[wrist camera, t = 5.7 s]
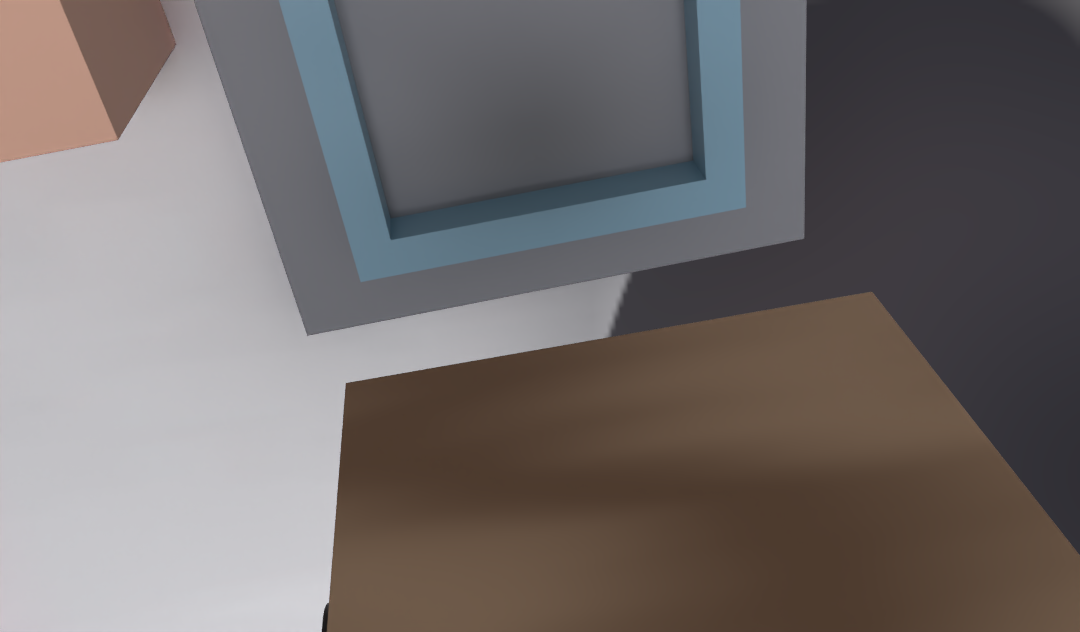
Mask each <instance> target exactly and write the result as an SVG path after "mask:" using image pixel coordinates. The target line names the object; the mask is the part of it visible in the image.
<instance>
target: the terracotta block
mask: <svg viewBox="0 0 1080 632" xmlns="http://www.w3.org/2000/svg"><path fill="white" fill-rule="evenodd" d="M175 45H176V43H175V40H174V38H173V35H172V32H171V29H170V26H169V24H168V21H167V18H166V15H165V13H164V10H163V7H162V4H161V2H160V0H0V162H5V161H10V160H15V159H21V158H26V157H31V156H36V155H42V154H47V153H52V152H57V151H63V150H68V149H73V148H78V147H83V146H89V145H94V144H99V143H104V142H110V141H115V140H118V139H119V138H120V136H121V134H122V133H123V131H124V129H125V128H126V126H127V124H128V123H129V121H130V119H131V118H132V116H133V115H134V113H135V111H136V110H137V108H138V106H139V105H140V103H141V101H142V100H143V98H144V96H145V95H146V93H147V91H148V90H149V88H150V87H151V85H152V83H153V82H154V80H155V78H156V77H157V75H158V73H159V72H160V70H161V68H162V67H163V65H164V64H165V62H166V60H167V59H168V57H169V55H170V54H171V52H172V50H173V49H174V47H175Z"/></svg>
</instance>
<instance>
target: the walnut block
mask: <svg viewBox="0 0 1080 632" xmlns="http://www.w3.org/2000/svg"><path fill="white" fill-rule="evenodd" d="M327 632H1080V555H1079V554H1078V553H1077V551H1076V550H1075V549H1074V548H1073V546H1072V545H1071V544H1070V543H1069V541H1068V540H1067V539H1066V537H1065V536H1064V535H1063V534H1062V532H1061V531H1060V530H1059V529H1058V527H1057V526H1056V525H1055V524H1054V522H1053V521H1052V520H1051V519H1050V517H1049V516H1048V515H1047V513H1046V512H1045V511H1044V510H1043V508H1042V507H1041V506H1040V504H1039V503H1038V502H1037V501H1036V499H1035V498H1034V497H1033V496H1032V494H1031V493H1030V492H1029V491H1028V489H1027V488H1026V487H1025V486H1024V484H1023V483H1022V482H1021V481H1020V480H1019V478H1018V477H1017V475H1016V474H1015V473H1014V472H1013V470H1012V469H1011V468H1010V466H1009V465H1008V464H1007V463H1006V461H1005V460H1004V459H1003V458H1002V456H1001V455H1000V454H999V453H998V451H997V450H996V449H995V448H994V446H993V445H992V444H991V442H990V441H989V440H988V439H987V437H986V436H985V435H984V434H983V432H982V431H981V430H980V428H979V427H978V426H977V425H976V423H975V422H974V421H973V419H972V418H971V417H970V416H969V414H968V413H967V412H966V411H965V410H964V408H963V407H962V406H961V404H960V403H959V402H958V400H957V399H956V398H955V397H954V395H953V394H952V393H951V392H950V390H949V389H948V388H947V386H946V385H945V384H944V383H943V381H942V380H941V379H940V378H939V376H938V375H937V374H936V373H935V371H934V370H933V369H932V367H931V366H930V365H929V364H928V362H927V361H926V360H925V359H924V358H923V356H922V355H921V354H920V352H919V351H918V350H917V349H916V347H915V346H914V345H913V343H912V342H911V341H910V340H909V338H908V337H907V336H906V335H905V333H904V332H903V331H902V329H901V328H900V327H899V326H898V324H897V323H896V322H895V320H894V319H893V318H892V317H891V315H889V313H888V312H887V310H886V309H885V308H884V307H883V305H882V304H881V303H880V301H879V300H878V299H877V298H876V296H875V295H874V294H873V293H872V292H868V293H862V294H856V295H850V296H845V297H839V298H833V299H827V300H822V301H816V302H811V303H804V304H799V305H793V306H788V307H781V308H776V309H770V310H764V311H759V312H753V313H747V314H741V315H735V316H730V317H724V318H719V319H712V320H707V321H701V322H695V323H690V324H684V325H678V326H672V327H666V328H661V329H655V330H649V331H643V332H638V333H632V334H626V335H620V336H615V337H609V338H603V339H597V340H592V341H586V342H580V343H574V344H569V345H563V346H557V347H551V348H546V349H540V350H534V351H528V352H523V353H517V354H511V355H505V356H500V357H494V358H488V359H482V360H477V361H471V362H465V363H459V364H454V365H448V366H442V367H436V368H431V369H425V370H419V371H413V372H408V373H402V374H396V375H390V376H385V377H379V378H373V379H367V380H362V381H356V382H350V383H346V389H345V402H344V415H343V428H342V441H341V454H340V467H339V480H338V493H337V506H336V520H335V533H334V546H333V559H332V572H331V585H330V598H329V611H328V624H327Z"/></svg>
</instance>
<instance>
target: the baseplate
mask: <svg viewBox="0 0 1080 632" xmlns="http://www.w3.org/2000/svg"><path fill="white" fill-rule="evenodd" d="M194 2H195V5H196V8H197V11H198V14H199V17H200V20H201V23H202V26H203V29H204V32H205V35H206V38H207V41H208V44H209V47H210V50H211V53H212V55H213V58H214V61H215V64H216V67H217V70H218V73H219V76H220V79H221V82H222V85H223V88H224V91H225V94H226V97H227V100H228V103H229V106H230V109H231V111H232V114H233V117H234V120H235V123H236V126H237V129H238V132H239V135H240V138H241V141H242V144H243V147H244V150H245V153H246V156H247V159H248V162H249V165H250V167H251V170H252V173H253V176H254V179H255V182H256V185H257V188H258V191H259V194H260V197H261V200H262V203H263V206H264V209H265V212H266V215H267V218H268V221H269V223H270V226H271V229H272V232H273V235H274V238H275V241H276V244H277V247H278V250H279V253H280V256H281V259H282V262H283V265H284V268H285V271H286V274H287V277H288V279H289V282H290V285H291V288H292V291H293V294H294V297H295V300H296V303H297V306H298V309H299V312H300V315H301V318H302V321H303V324H304V327H305V330H306V333H307V336H308V335H313V334H318V333H323V332H329V331H334V330H339V329H344V328H349V327H354V326H359V325H364V324H369V323H375V322H380V321H385V320H390V319H395V318H400V317H405V316H410V315H416V314H421V313H426V312H431V311H436V310H441V309H446V308H451V307H457V306H462V305H467V304H472V303H477V302H482V301H487V300H492V299H497V298H503V297H508V296H513V295H518V294H523V293H528V292H533V291H538V290H544V289H549V288H554V287H559V286H564V285H569V284H574V283H579V282H584V281H590V280H595V279H600V278H605V277H610V276H615V275H620V274H625V273H631V272H635V271H641V270H646V269H651V268H656V267H661V266H666V265H672V264H677V263H682V262H687V261H692V260H697V259H702V258H707V257H712V256H717V255H722V254H728V253H733V252H738V251H742V250H748V249H753V248H759V247H764V246H769V245H773V244H779V243H784V242H789V241H794V240H799V239H804V212H805V211H804V210H805V203H804V202H805V102H806V0H194Z"/></svg>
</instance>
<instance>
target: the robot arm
mask: <svg viewBox="0 0 1080 632" xmlns="http://www.w3.org/2000/svg"><path fill="white" fill-rule="evenodd" d="M328 611H329V603H327V605H326V607H325V610H324V615H323V625H322V632H327V624H328Z"/></svg>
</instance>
